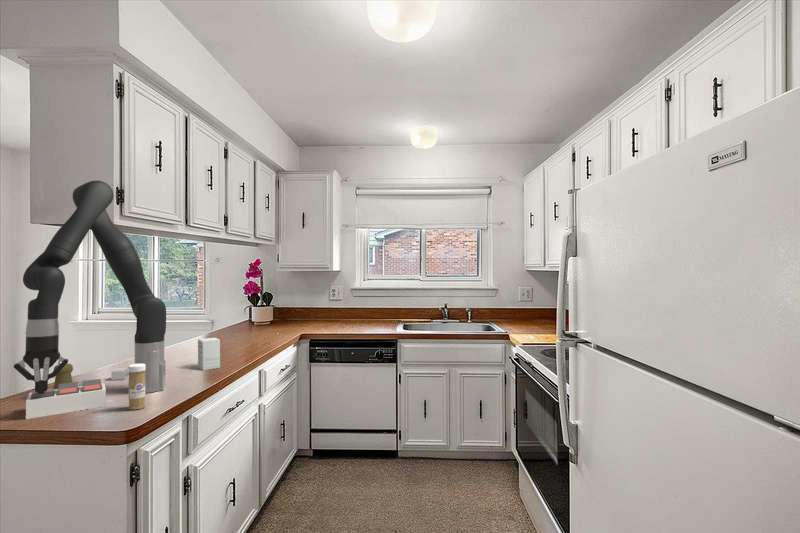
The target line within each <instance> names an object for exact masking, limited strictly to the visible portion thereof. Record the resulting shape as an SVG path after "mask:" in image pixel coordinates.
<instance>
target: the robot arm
mask: <svg viewBox="0 0 800 533" xmlns="http://www.w3.org/2000/svg"><path fill="white" fill-rule="evenodd" d="M72 200H73V203H74V205H75V207H76V209H75V210H74V211H73V213H72V214H71V215H70V217H69V218H68V219H67V220H66V221H65V223H64V224H63V225H61V226H60V228H59V229H58V230H57V231H56V233H55V234H54V235H53V236H52V238H51V240H50V242H49V243H48V245H47V246H46V248H45V249H44V251H43V252H42V253H41V254H40V255H39V256H37V257H36V258H35V260H33V261H32V263H31V264H30V265H28V267H27V268H26V270H25V271H24V273H23V276H22V283H23V285H24V286H25V287H26V288H27V289H29V290H31V291H38V292H37V297H36V298H34V299H31V300H29V302H28V304H27V320H26V327H25V333H24V334H25V351H24V353H25V354H24V355H23V357H22V360H20V361H18V362H16V363H15V364H14V365H13V368H14V369H15V371H17V372H18V373H19V374H20V375H21V376H23V377H24V378H25V379H26V380H27V381H33V382H34V390H35V392H38V394H44V393H45V391H47V389H48V388H49V386H48V385H49V380H50V379H53V378H54V379H55V377H56V375H57V374H58V373H59V372H60V371H61V369H62V368H63V367H64V366H65V365H66V364H69V359H68V358H65V357H63V356H61V353H60V352H59V345H60V344H59V342H60V339H59V338H60V337H59V336H60V324H59V303H60V301H61V298H62V295H63V293H64V289H65V285H66V277H65V273H64V272H63V271H62V270H61V268H60V267H63V266H66V265H68V264H69V263H70V262H71V261H72V260H73V258H74V257H75V255H76V253H77V251H78V250H79V247H80V246H81V244H82V242H83V241H84V239H85V237H86V236H87V234H88V233H89V231H90V230H91V232H92V234H93V236H94V238H95V240H96V242H97V243H98V246H99V247H100V249H101V252H102V254H103V256H104V258H105V259H106V262H107V263H108V266H109V267H110V268H111V270H112V273H113V274H114V276H115V277H116V279H117V280H118V282H119V283H120V285H121V286H122V289H124V292H125V294H126V297H127V299H128V302H129V304H130V307H131V310H132V312H133V315H134V317H135V318H136V327H135V328H136V330H135V334H134V364H145V365H146V370H145V394H146V393H154V392H159V391H163V390H164V389H165V388H166V360H165V335H166V332H167V331H166V330H167V306H166V304H165V303H164V301H163V300H162V299H161V298H159V297H157V296H155V294H154V293H153V291H152V290H151V288H150V286H149V285H148V282H147V280H146V277H145V273H144V269H143V265H142V260H141V258H140V256H139V254H138V252H137V250H136V247H135V246H134V244H133V242H132V241H131V239H129V237H128V236H127V235H126V234H125V233H124V232H122V231H121V230H120V229H119V228H118V227H117V226H116V225H115V224H114V223H113V221H112V219H111V218H110V214H108V212H107V208H108V207H109V206H110V205H111V204H112V202H113V201H114V191H113V188H112V187H111V186H110V185H109V184H108V183H106V182H105V181H103V180H89V181H88V182H85V183H83V184H81V185H79V186H76V187H75V188H74V190H73V192H72ZM57 361H58V362H57ZM56 362H57V365H58V367H57V368H56V369H55V370H54V369H53V371H51V373H49V372H50V368H52V367H53V366H54V365H55V363H56ZM26 365H27V366H28V367H29V368H30V369H32V370H33V373H34V374H32V373H31V372H30V371H29V370H27V369H26V368H25V367H26ZM41 369H42V375H41Z"/></svg>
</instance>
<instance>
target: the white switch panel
mask: <svg viewBox="0 0 800 533" xmlns="http://www.w3.org/2000/svg"><path fill="white" fill-rule="evenodd" d="M82 387H83V385H78V393H73V394H66V395H59V396H58V389H56V390H54V393H53V396H46V397H39V398H32V393H33V392H29V393H28V395H27V398H26V400H25V419H26V420H30V419H37V418H43V417H49V416H55V415H60V414H61V415H62V414H67V413H73V412H74V411H75V412H80V410H81V411H85V410H86V409H88V410H93V408H94V409H100V408H106V407H107V406H106V405H107V400H106V398H107V396H106V395H107V390H106V389H107V388H106V385H105V382H103V383H102V382H101V390H95V391H88V392H82ZM105 406H106V407H105ZM99 407H100V408H99ZM86 411H87V410H86ZM75 412H74V413H75Z"/></svg>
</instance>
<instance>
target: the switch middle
mask: <svg viewBox="0 0 800 533" xmlns="http://www.w3.org/2000/svg"><path fill="white" fill-rule="evenodd" d="M78 387H79V381H72V382H71V383H63V384H59V386H58V396H59V395H66V394H73V393H78Z"/></svg>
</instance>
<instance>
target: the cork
mask: <svg viewBox="0 0 800 533" xmlns="http://www.w3.org/2000/svg"><path fill="white" fill-rule="evenodd" d="M58 365H59V364H56V365H55V366H54V367H53V371H54V370H55V369H56V368H57V367H58ZM73 371H74V366H73V364H72V363H67V364H66V365H65V366H64V367H63V368H62V369H61V371H60V372H59V373H58V374H57V375H56V376H55V377H54V383H53V388H54V390H56V389H58V386H59V384H63V383H71V382H73V379H72V372H73Z"/></svg>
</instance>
